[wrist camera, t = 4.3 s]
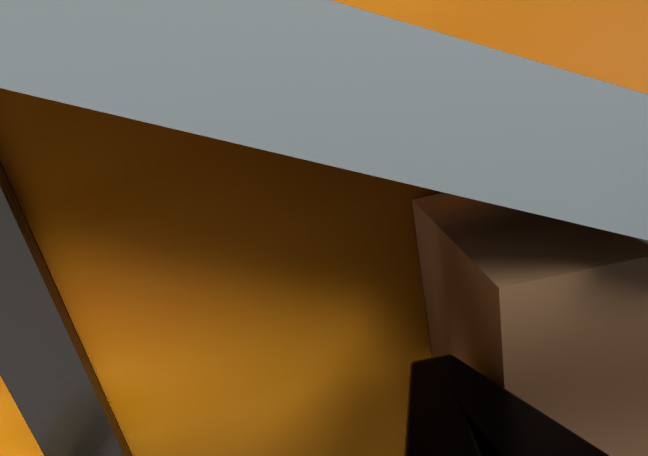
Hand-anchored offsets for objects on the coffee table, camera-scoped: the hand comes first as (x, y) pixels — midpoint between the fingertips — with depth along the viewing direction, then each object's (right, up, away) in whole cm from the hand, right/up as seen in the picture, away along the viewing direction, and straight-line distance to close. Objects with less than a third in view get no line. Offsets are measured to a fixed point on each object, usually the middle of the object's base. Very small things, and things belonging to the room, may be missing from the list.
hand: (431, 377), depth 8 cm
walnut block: (+3, +2, +3) cm, 5 cm away
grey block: (-3, +6, 0) cm, 6 cm away
